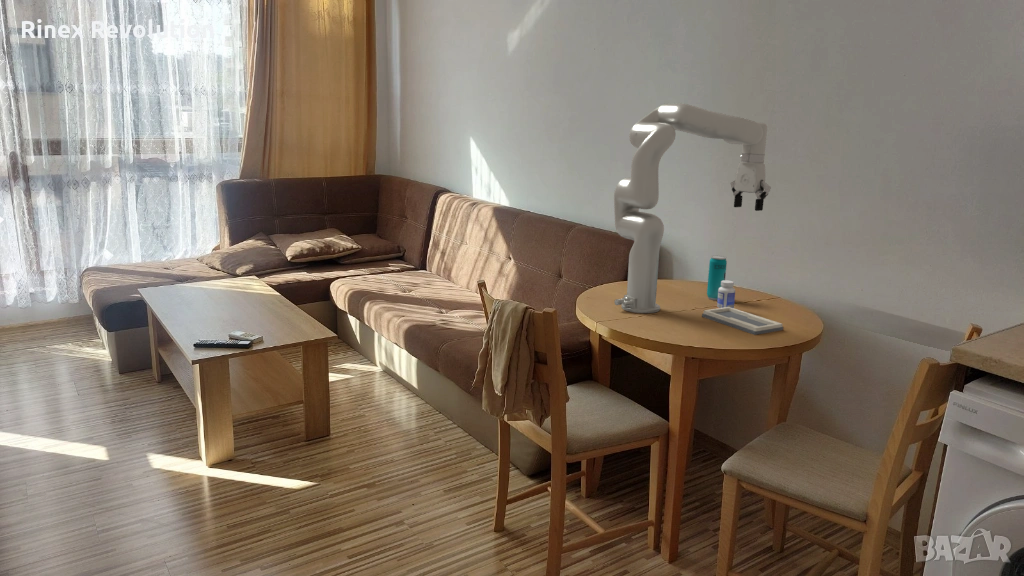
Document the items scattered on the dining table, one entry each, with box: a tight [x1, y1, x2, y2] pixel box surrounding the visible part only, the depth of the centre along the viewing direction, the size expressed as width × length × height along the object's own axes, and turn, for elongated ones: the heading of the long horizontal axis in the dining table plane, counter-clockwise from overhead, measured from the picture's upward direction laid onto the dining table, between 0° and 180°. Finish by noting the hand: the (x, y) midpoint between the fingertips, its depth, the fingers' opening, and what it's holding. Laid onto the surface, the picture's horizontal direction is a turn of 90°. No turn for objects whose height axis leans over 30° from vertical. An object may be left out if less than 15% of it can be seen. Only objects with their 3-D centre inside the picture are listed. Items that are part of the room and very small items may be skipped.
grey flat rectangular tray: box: [701, 307, 784, 336], centre depth 232 cm, size 12×22×2 cm, turn 29°
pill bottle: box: [716, 279, 736, 309], centre depth 246 cm, size 5×5×10 cm
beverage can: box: [706, 255, 728, 301], centre depth 260 cm, size 6×6×15 cm
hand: (747, 208), depth 260 cm, fingers open, 9 cm apart
